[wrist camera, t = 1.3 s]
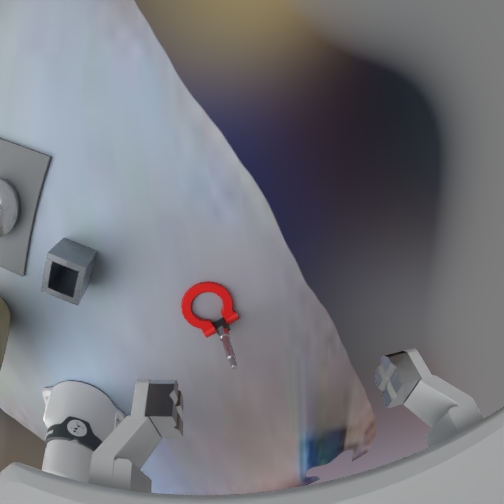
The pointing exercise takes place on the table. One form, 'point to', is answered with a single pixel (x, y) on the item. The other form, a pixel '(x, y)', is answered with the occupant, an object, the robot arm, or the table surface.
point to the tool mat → (29, 188)
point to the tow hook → (207, 325)
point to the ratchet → (8, 206)
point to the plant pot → (4, 328)
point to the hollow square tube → (65, 281)
